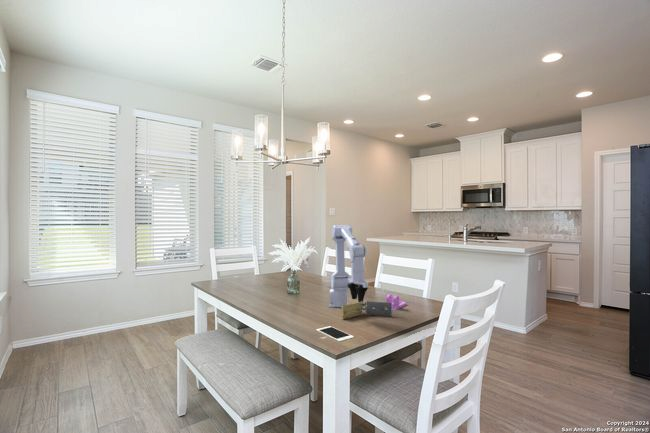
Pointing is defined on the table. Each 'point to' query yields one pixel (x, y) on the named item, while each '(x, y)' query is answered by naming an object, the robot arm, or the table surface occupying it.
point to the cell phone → (335, 333)
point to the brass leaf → (352, 310)
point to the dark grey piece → (377, 308)
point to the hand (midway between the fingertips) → (357, 300)
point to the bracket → (395, 302)
